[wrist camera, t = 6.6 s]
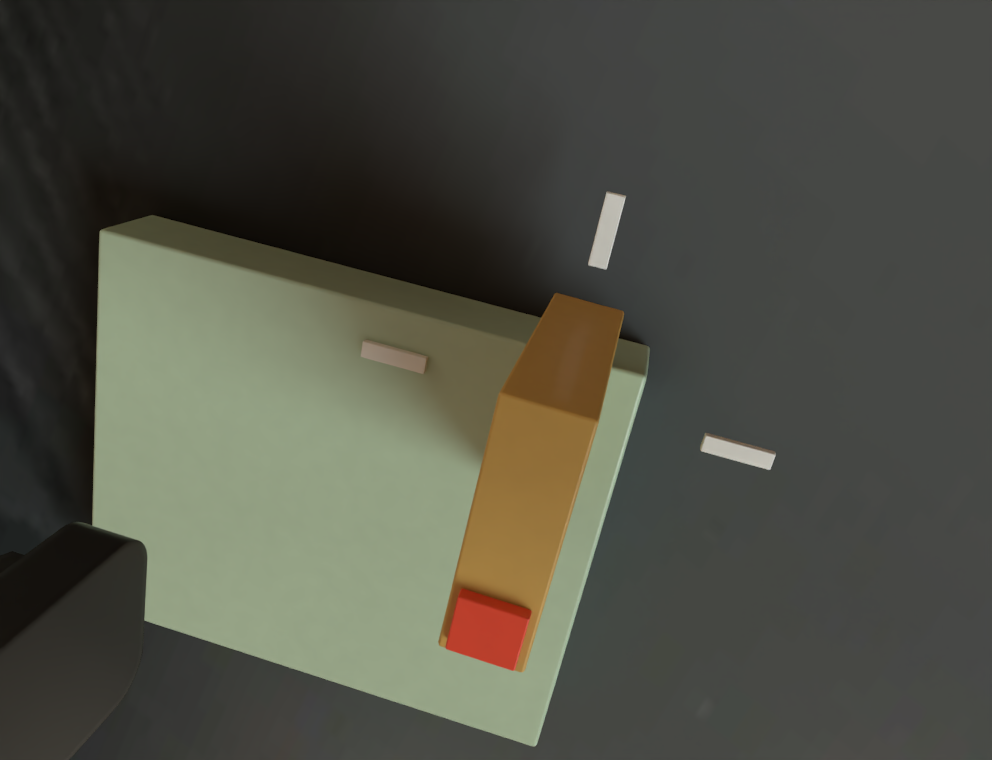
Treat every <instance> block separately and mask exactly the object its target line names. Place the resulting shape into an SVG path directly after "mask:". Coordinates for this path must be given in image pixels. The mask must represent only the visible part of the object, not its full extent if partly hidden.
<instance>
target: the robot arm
mask: <svg viewBox="0 0 992 760" xmlns="http://www.w3.org/2000/svg"><path fill="white" fill-rule="evenodd" d="M146 578H147V550H146V547H145V545H144V544H143V543H142V542H141V541H139V540H136V539H133V538H130V537H126V536H123V535H120V534H117V533H114V532H111V531H108V530H104V529H101V528H98V527H95V526H92V525H89V524H86V523H82V522H72V523H70V524H68V525H66V526H64V527H63V528H61V529H60V530H58V531H57V532H56V533H54V534H53V535H52V536H50V537H49V538H47V539H46V540H45V541H43V542H42V543H41V544H39V545H38V546H37V547H35V548H34V549H33V550H31V551H30V552H29V553H27V554H26V555H22V554H19V553H16V552H13V551H12V552H9V553H6V554H4V555H1V556H0V760H69V759H70V758H71V757H72V756H73V755H74V754H75V753H76V752H77V750H78V749H79V748H80V747H81V746H82V745H83V744H84V743H85V742H86V740H87V739H88V738H89V737H90V736H91V735H92V734H93V733H94V731H95V730H96V729H97V728H98V727H99V726H100V725H101V724H102V723H103V721H104V720H105V719H106V718H107V717H108V716H109V715H110V714H111V712H112V711H113V710H114V709H115V708H116V707H117V705H118V704H119V703H120V702H121V700H122V699H123V697H124V696H125V694H126V693H127V691H128V689H129V687H130V686H131V684H132V682H133V679H134V677H135V675H136V673H137V670H138V667H139V664H140V661H141V656H142V651H143V637H144V618H145V598H146Z"/></svg>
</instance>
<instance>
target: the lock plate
mask: <svg viewBox="0 0 992 760" xmlns="http://www.w3.org/2000/svg"><path fill="white" fill-rule="evenodd" d="M625 198H626V196H625V195H621V194H617V193H613V192H607V193H606V196H605V200H604V204H603V208H602V212H601V216H600V219H599V223H598V227H597V231H596V235H595V239H594V243H593V247H592V251H591V255H590V258H589V262H588V265H590V266H594V267H598V268H602V269H607V266H608V262H609V258H610V255H611V251H612V247H613V243H614V239H615V236H616V232H617V228H618V224H619V221H620V217H621V213H622V209H623V206H624V202H625ZM540 319H541V318H540V317H536V316H533V315H529V314H525V313H521V312H517V311H514V310H510V309H506V308H502V307H498V306H495V305H491V304H487V303H483V302H480V301H476V300H472V299H468V298H464V297H461V296H457V295H453V294H449V293H446V292H442V291H438V290H434V289H430V288H427V287H423V286H419V285H415V284H412V283H408V282H404V281H400V280H396V279H393V278H389V277H385V276H381V275H378V274H374V273H370V272H366V271H362V270H359V269H355V268H351V267H347V266H343V265H340V264H336V263H332V262H328V261H325V260H321V259H317V258H313V257H309V256H306V255H302V254H298V253H294V252H291V251H287V250H283V249H279V248H275V247H272V246H268V245H264V244H260V243H257V242H253V241H249V240H245V239H241V238H238V237H234V236H230V235H226V234H222V233H219V232H215V231H211V230H207V229H204V228H200V227H196V226H192V225H188V224H185V223H181V222H177V221H173V220H170V219H166V218H162V217H158V216H154V215H151V216H147V217H143V218H140V219H136V220H133V221H129V222H126V223H122V224H119V225H115V226H112V227H108V228H104V229H101V230H100V233H99V269H98V309H97V349H96V390H95V430H94V470H93V511H92V526H95V527H98V528H101V529H104V530H108V531H111V532H114V533H117V534H120V535H123V536H126V537H130V538H133V539H136V540H139V541H141V542H142V543H143V544H144V545H145V547H146V550H147V578H146V598H145V618H144V620H145V621H148V622H151V623H154V624H157V625H160V626H163V627H166V628H169V629H172V630H176V631H179V632H182V633H185V634H188V635H191V636H194V637H197V638H200V639H203V640H206V641H209V642H213V643H216V644H219V645H222V646H225V647H228V648H231V649H234V650H237V651H240V652H243V653H246V654H249V655H253V656H256V657H259V658H262V659H265V660H268V661H271V662H274V663H277V664H280V665H283V666H286V667H290V668H293V669H296V670H299V671H302V672H305V673H308V674H311V675H314V676H317V677H320V678H323V679H327V680H330V681H333V682H336V683H339V684H342V685H345V686H348V687H351V688H354V689H357V690H360V691H363V692H367V693H370V694H373V695H376V696H379V697H382V698H385V699H388V700H391V701H394V702H397V703H400V704H404V705H407V706H410V707H413V708H416V709H419V710H422V711H425V712H428V713H431V714H434V715H437V716H441V717H444V718H447V719H450V720H453V721H456V722H459V723H462V724H465V725H468V726H471V727H474V728H477V729H481V730H484V731H487V732H490V733H493V734H496V735H499V736H502V737H505V738H508V739H511V740H514V741H518V742H521V743H524V744H527V745H530V746H536V744H537V743H538V739H539V736H540V733H541V729H542V726H543V723H544V719H545V716H546V713H547V709H548V706H549V703H550V699H551V696H552V693H553V689H554V686H555V683H556V679H557V676H558V673H559V669H560V666H561V663H562V659H563V656H564V653H565V649H566V646H567V643H568V639H569V636H570V633H571V629H572V626H573V623H574V619H575V616H576V613H577V609H578V606H579V603H580V599H581V596H582V593H583V589H584V586H585V583H586V579H587V576H588V573H589V569H590V566H591V563H592V559H593V556H594V553H595V549H596V546H597V543H598V539H599V536H600V533H601V529H602V526H603V523H604V519H605V516H606V513H607V509H608V506H609V503H610V499H611V496H612V493H613V489H614V486H615V483H616V479H617V476H618V473H619V469H620V466H621V463H622V459H623V456H624V453H625V449H626V446H627V443H628V439H629V436H630V433H631V429H632V426H633V423H634V419H635V416H636V413H637V409H638V406H639V403H640V399H641V396H642V393H643V389H644V386H645V383H646V379H647V371H648V362H649V354H650V348H649V347H648V346H646V345H642V344H638V343H635V342H631V341H627V340H623V339H619V338H618V343H617V347H616V351H615V356H614V360H613V364H612V368H611V373H610V377H609V381H608V385H607V390H606V394H605V398H604V402H603V407H602V411H601V415H600V419H599V424H598V427H597V430H596V434H595V437H594V440H593V444H592V447H591V451H590V454H589V457H588V461H587V464H586V467H585V471H584V474H583V477H582V481H581V484H580V487H579V491H578V494H577V498H576V501H575V504H574V508H573V511H572V514H571V518H570V521H569V524H568V528H567V531H566V534H565V538H564V541H563V545H562V548H561V551H560V555H559V558H558V561H557V565H556V568H555V571H554V575H553V578H552V581H551V585H550V588H549V592H548V595H547V598H546V602H545V605H544V608H543V612H542V615H541V618H540V622H539V625H538V628H537V632H536V635H535V639H534V642H533V645H532V649H531V652H530V655H529V659H528V662H527V665H526V669H525V671H524V672H518V671H515V670H514V671H511V670H508V669H505V668H502V667H499V666H496V665H493V664H490V663H487V662H484V661H481V660H478V659H475V658H472V657H468V656H465V655H462V654H459V653H456V652H453V651H450V650H447V649H446V648H444V647H441V646H439V643H438V641H439V637H440V633H441V629H442V625H443V621H444V616H445V612H446V608H447V604H448V600H449V596H450V592H451V588H452V584H453V579H454V575H455V571H456V567H457V563H458V559H459V555H460V551H461V546H462V542H463V538H464V534H465V530H466V526H467V522H468V518H469V513H470V509H471V505H472V501H473V497H474V493H475V489H476V485H477V480H478V476H479V472H480V468H481V464H482V460H483V456H484V452H485V448H486V443H487V439H488V435H489V431H490V427H491V423H492V419H493V415H494V410H495V406H496V402H497V398H498V394H499V392H500V391H501V389H502V387H503V385H504V383H505V382H506V380H507V378H508V376H509V375H510V373H511V371H512V369H513V367H514V366H515V364H516V362H517V360H518V358H519V357H520V355H521V353H522V351H523V350H524V348H525V346H526V344H527V342H528V341H529V339H530V337H531V335H532V333H533V332H534V330H535V328H536V326H537V325H538V323H539V321H540ZM700 451H703V452H706V453H710V454H713V455H717V456H721V457H724V458H728V459H732V460H735V461H739V462H742V463H746V464H750V465H753V466H757V467H760V468H764V469H768V470H770V469H771V466H772V464H773V461H774V458H775V456H776V454H775V452H774V451H771V450H767V449H764V448H760V447H756V446H753V445H749V444H745V443H742V442H738V441H734V440H731V439H727V438H724V437H720V436H716V435H713V434H709V433H705V435H704V438H703V441H702V444H701V447H700Z"/></svg>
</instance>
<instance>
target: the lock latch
mask: <svg viewBox="0 0 992 760" xmlns="http://www.w3.org/2000/svg"><path fill="white" fill-rule="evenodd" d="M623 317H624V312H623V311H621V310H617V309H614V308H610V307H606V306H603V305H599V304H595V303H592V302H588V301H584V300H581V299H577V298H574V297H570V296H566V295H563V294H559V293H555V294H554V296H553V298H552V299H551V301H550V303H549V305H548V307H547V308H546V310H545V312H544V314H543V316H542V317H541V319H540V321H539V323H538V325H537V326H536V328H535V330H534V332H533V333H532V335H531V337H530V339H529V341H528V342H527V344H526V346H525V348H524V350H523V351H522V353H521V355H520V357H519V358H518V360H517V362H516V364H515V366H514V367H513V369H512V371H511V373H510V375H509V376H508V378H507V380H506V382H505V383H504V385H503V387H502V389H501V391H500V392H499V394H498V398H497V402H496V406H495V410H494V415H493V419H492V423H491V427H490V431H489V435H488V439H487V443H486V448H485V452H484V456H483V460H482V464H481V468H480V472H479V476H478V480H477V485H476V489H475V493H474V497H473V501H472V505H471V509H470V513H469V518H468V522H467V526H466V530H465V534H464V538H463V542H462V546H461V551H460V555H459V559H458V563H457V567H456V571H455V575H454V579H453V584H452V588H451V592H450V596H449V600H448V604H447V608H446V612H445V616H444V621H443V625H442V629H441V633H440V637H439V641H438V643H439V646H441V647H444V648H446V649H447V650H450V651H453V652H456V653H459V654H462V655H465V656H468V657H472V658H475V659H478V660H481V661H484V662H487V663H490V664H493V665H496V666H499V667H502V668H505V669H508V670H511V671H514V670H515V671H518V672H524V671H525V669H526V665H527V662H528V659H529V655H530V652H531V649H532V645H533V642H534V639H535V635H536V632H537V628H538V625H539V622H540V618H541V615H542V612H543V608H544V605H545V602H546V598H547V595H548V592H549V588H550V585H551V581H552V578H553V575H554V571H555V568H556V565H557V561H558V558H559V555H560V551H561V548H562V545H563V541H564V538H565V534H566V531H567V528H568V524H569V521H570V518H571V514H572V511H573V508H574V504H575V501H576V498H577V494H578V491H579V487H580V484H581V481H582V477H583V474H584V471H585V467H586V464H587V461H588V457H589V454H590V451H591V447H592V444H593V440H594V437H595V434H596V430H597V427H598V424H599V419H600V415H601V411H602V407H603V402H604V398H605V394H606V390H607V385H608V381H609V377H610V373H611V368H612V364H613V360H614V356H615V351H616V347H617V343H618V338H619V334H620V330H621V326H622V321H623Z"/></svg>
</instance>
